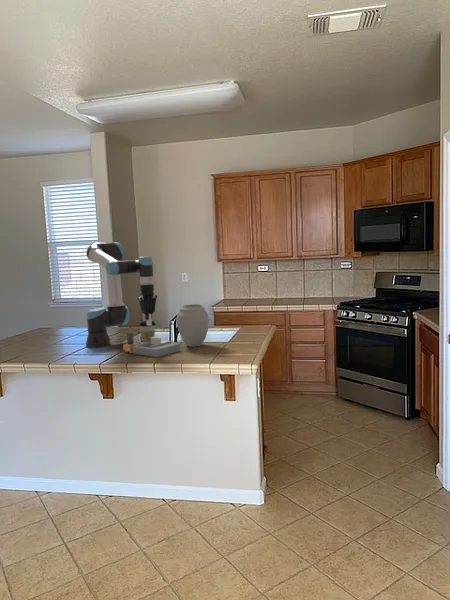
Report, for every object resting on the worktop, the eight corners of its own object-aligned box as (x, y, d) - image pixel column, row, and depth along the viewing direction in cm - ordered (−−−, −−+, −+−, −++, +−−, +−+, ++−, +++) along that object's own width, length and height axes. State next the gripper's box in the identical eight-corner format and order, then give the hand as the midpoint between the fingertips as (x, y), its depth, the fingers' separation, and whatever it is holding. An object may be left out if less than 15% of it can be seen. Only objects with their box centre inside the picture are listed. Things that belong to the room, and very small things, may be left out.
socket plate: (132, 353, 264) (132, 344, 263) (156, 347, 278) (155, 339, 277) (156, 357, 251) (155, 348, 250) (179, 350, 265) (179, 342, 264)
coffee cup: (153, 347, 276) (151, 323, 275) (138, 348, 278) (136, 323, 277) (159, 344, 286) (157, 320, 284) (144, 344, 288) (142, 320, 286)
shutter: (150, 343, 269) (150, 337, 268) (160, 341, 275) (160, 334, 274) (160, 344, 263) (159, 338, 263) (170, 342, 270) (169, 336, 269)
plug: (123, 352, 267) (122, 333, 266) (131, 350, 272) (130, 331, 271) (130, 353, 264) (129, 334, 262) (138, 351, 268) (137, 332, 267)
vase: (172, 348, 271) (169, 307, 269) (186, 342, 289) (184, 303, 287) (202, 349, 264) (200, 307, 262) (215, 343, 282) (213, 303, 280)
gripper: (142, 285, 252) (144, 327, 255) (160, 283, 262) (162, 324, 265) (133, 284, 257) (136, 326, 260) (151, 282, 267) (153, 323, 270)
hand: (149, 325), depth 263 cm, fingers closed
